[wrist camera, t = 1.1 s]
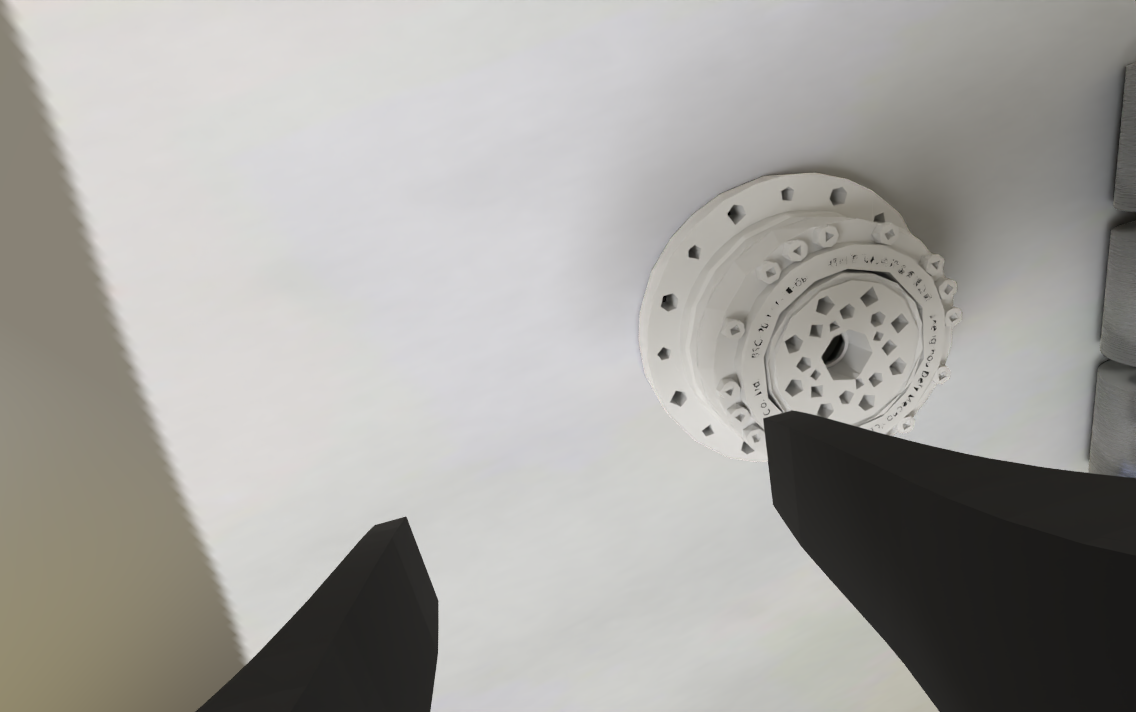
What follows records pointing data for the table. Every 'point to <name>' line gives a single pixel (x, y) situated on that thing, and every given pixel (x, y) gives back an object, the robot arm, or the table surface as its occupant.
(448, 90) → the table surface
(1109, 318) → the hinge leaf
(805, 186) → the mechanical component
